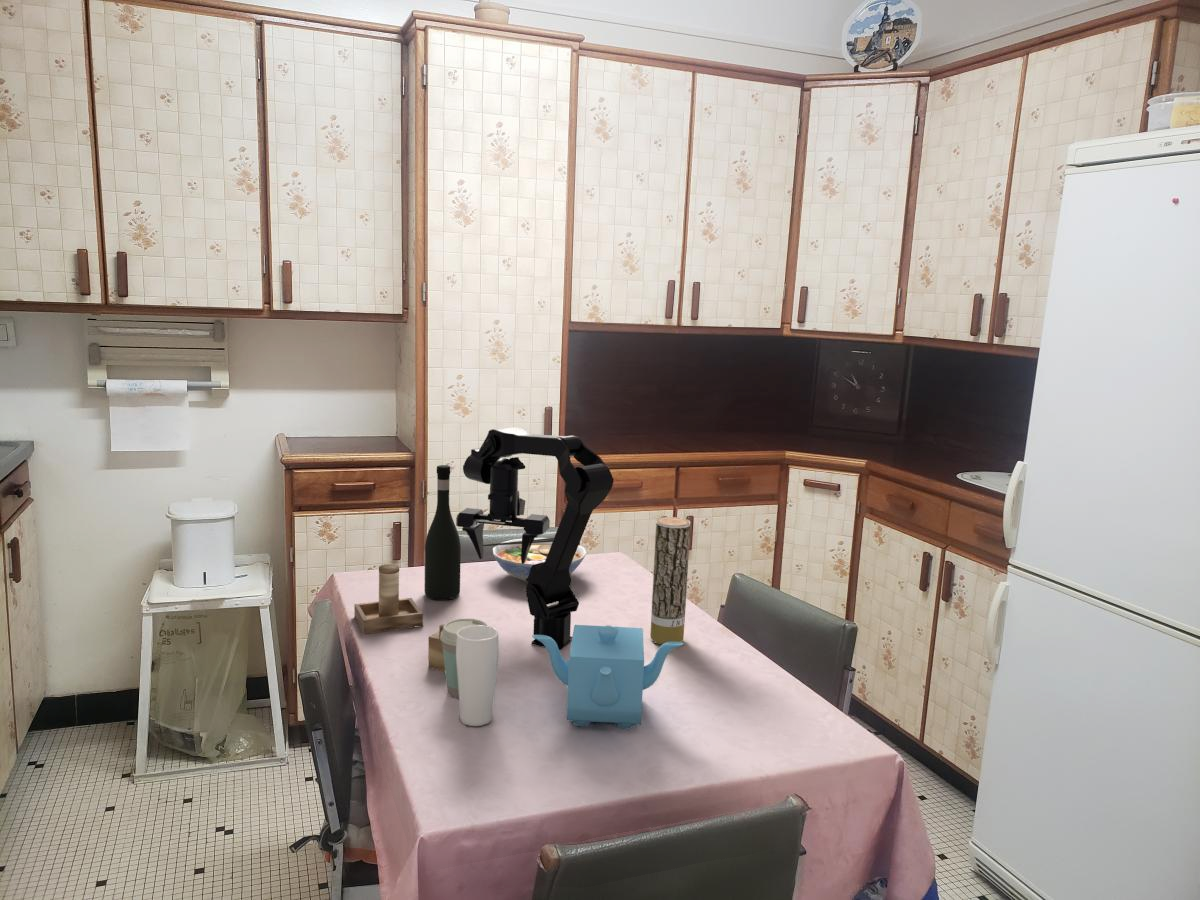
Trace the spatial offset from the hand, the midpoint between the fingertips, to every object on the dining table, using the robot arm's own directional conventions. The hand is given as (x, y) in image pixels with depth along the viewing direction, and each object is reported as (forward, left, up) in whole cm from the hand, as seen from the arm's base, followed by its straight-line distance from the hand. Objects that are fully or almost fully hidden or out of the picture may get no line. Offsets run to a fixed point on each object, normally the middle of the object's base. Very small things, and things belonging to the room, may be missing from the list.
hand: (502, 560), depth 185 cm
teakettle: (-36, +30, -13) cm, 49 cm away
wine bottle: (+19, -7, -13) cm, 24 cm away
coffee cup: (-11, +33, -13) cm, 37 cm away
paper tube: (-35, -6, -13) cm, 38 cm away
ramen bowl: (+5, -28, -13) cm, 31 cm away
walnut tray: (+20, +12, -13) cm, 27 cm away
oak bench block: (-5, +26, -13) cm, 30 cm away
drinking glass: (-18, +41, -13) cm, 47 cm away
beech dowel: (+20, +12, -12) cm, 26 cm away
